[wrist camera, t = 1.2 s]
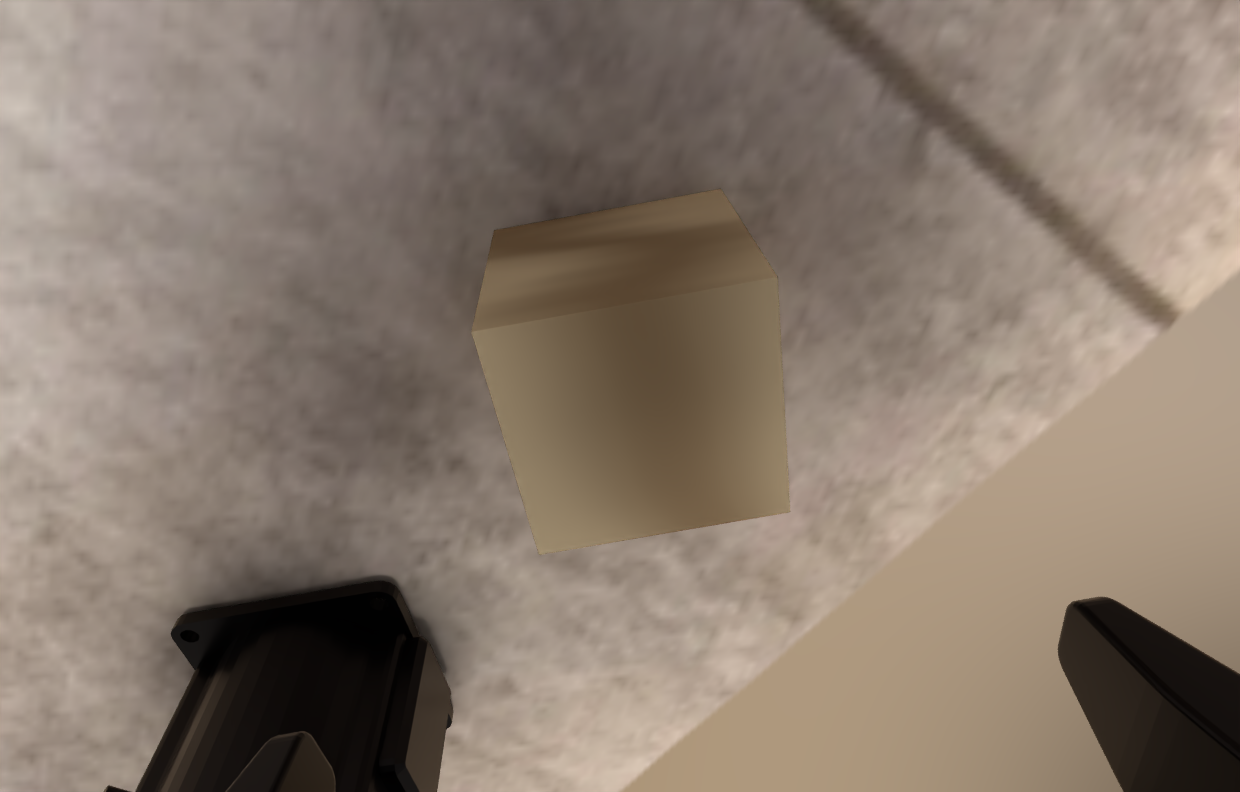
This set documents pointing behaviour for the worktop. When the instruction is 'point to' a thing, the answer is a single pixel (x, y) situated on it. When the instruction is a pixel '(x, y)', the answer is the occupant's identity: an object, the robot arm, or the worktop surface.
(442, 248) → the worktop surface
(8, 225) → the worktop surface
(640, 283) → the maple cube
